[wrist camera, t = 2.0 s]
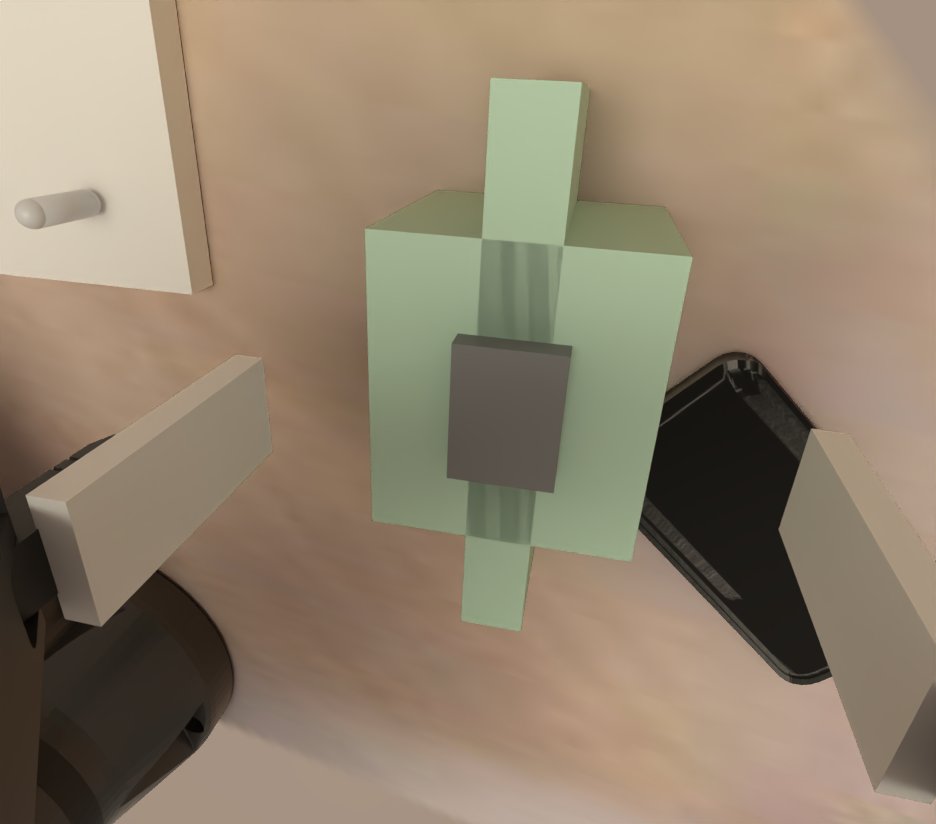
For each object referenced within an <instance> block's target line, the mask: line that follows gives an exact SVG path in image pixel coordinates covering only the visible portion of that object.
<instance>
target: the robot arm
mask: <svg viewBox="0 0 936 824" xmlns="http://www.w3.org/2000/svg"><path fill="white" fill-rule="evenodd" d="M272 452H273V448H272V438H271V429H270V419H269V410H268V400H267V391H266V382H265V372H264V363H263V358H260V357H252V356H244V355H236V354H235V355H234V356H232V357H231V358H229V359H228V360H226V361H225V362H223V363H222V364H220V365H219V366H217V367H216V368H214V369H213V370H211V371H210V372H208V373H207V374H205V375H204V376H202V377H201V378H199V379H198V380H197V381H195V382H194V383H192V384H191V385H189V386H188V387H186V388H185V389H183V390H182V391H180V392H179V393H177V394H176V395H174V396H173V397H171V398H170V399H168V400H167V401H165V402H164V403H162V404H161V405H159V406H158V407H156V408H155V409H153V410H152V411H150V412H149V413H147V414H146V415H144V416H143V417H141V418H140V419H138V420H137V421H135V422H134V423H132V424H131V425H129V426H128V427H126V428H125V429H123V430H122V431H120V432H119V433H117V434H116V435H115V434H114V435H112V436H109V437H106V438H104V439H101V440H99V441H96V442H94V443H91V444H89V445H87V446H86V447H84V448H83V449H81V450H80V451H78V452H77V453H75V454H74V455H72V456H70V459H69V460H67V459H66V460H64V461H63V462H61V463H60V464H58V465H57V466H55V467H54V470H49V471H48V472H46V473H45V474H43V475H41V476H40V477H38V478H37V479H35V480H34V481H32V482H31V483H29V484H28V485H26V486H25V487H23V488H22V489H20V490H19V491H17V492H16V493H14V494H12V495H11V496H9V497H8V498H6V499H5V500H4V498H3V495H2V492H1V489H0V824H113V823H114V822H115V821H116V820H118V819H119V818H120V817H121V816H122V815H123V814H124V813H126V812H127V811H128V810H129V809H130V808H131V807H132V806H134V805H135V804H136V803H137V802H138V801H139V800H141V799H142V798H143V797H144V796H145V795H146V794H147V793H149V792H150V791H151V790H152V789H153V788H154V787H156V786H157V785H158V784H159V783H160V782H161V781H162V780H164V779H165V778H166V777H167V776H168V775H169V774H170V773H171V772H173V771H174V770H175V769H176V768H177V767H179V765H181V764H182V763H183V762H184V761H185V760H186V759H188V758H189V757H190V756H191V755H192V754H193V753H195V752H196V751H197V750H198V749H199V748H200V746H201V745H202V744H203V743H204V742H205V740H206V739H207V738H208V736H209V735H210V733H211V731H212V730H213V728H214V727H215V725H216V724H217V722H218V720H219V719H220V717H221V716H222V714H223V712H224V711H225V709H226V708H227V706H228V703H229V701H230V698H231V694H232V686H233V677H232V669H231V664H230V661H229V657H228V654H227V652H226V649H225V647H224V645H223V643H222V641H221V639H220V637H219V635H218V634H217V632H216V630H215V629H214V627H213V626H212V624H211V623H210V622H209V620H208V619H207V618H206V616H205V615H204V614H203V613H202V611H201V610H200V609H199V608H198V607H197V606H196V605H195V604H194V603H193V602H192V601H191V600H190V599H189V598H188V597H187V596H186V595H185V594H184V593H183V592H182V591H181V590H179V589H178V588H177V587H176V586H175V585H173V584H172V583H171V582H169V581H168V580H167V579H165V578H164V577H162V576H161V575H160V574H158V573H156V572H155V571H156V570H157V569H158V568H159V567H160V566H161V565H162V564H163V563H164V562H165V561H166V560H167V559H168V558H169V557H170V556H171V555H172V554H173V553H174V552H175V551H176V550H177V549H178V548H179V547H180V546H181V545H182V544H183V543H184V542H185V541H186V540H187V539H188V538H189V537H190V536H191V535H192V534H193V533H194V531H195V530H196V529H197V528H198V527H199V526H200V525H201V524H202V523H203V522H204V521H205V520H206V519H207V518H208V517H209V516H210V515H211V514H212V513H213V512H214V511H215V510H216V509H217V508H218V507H219V506H220V505H221V504H222V503H223V502H224V501H225V500H226V499H227V498H228V497H229V496H230V495H231V494H232V493H233V492H234V491H235V490H236V489H237V488H238V487H239V485H240V484H241V483H242V482H243V481H244V480H245V479H246V478H247V477H248V476H249V475H250V474H251V473H252V472H253V471H254V470H255V469H256V468H257V467H258V466H259V465H260V464H261V463H262V462H263V461H264V460H265V459H266V458H267V457H268V456H269V455H270V454H271V453H272ZM779 532H780V535H781V537H782V540H783V543H784V546H785V548H786V551H787V554H788V557H789V559H790V562H791V565H792V567H793V570H794V573H795V576H796V578H797V581H798V584H799V587H800V589H801V592H802V595H803V598H804V600H805V603H806V606H807V608H808V611H809V614H810V617H811V619H812V622H813V625H814V628H815V630H816V633H817V636H818V638H819V641H820V644H821V647H822V649H823V652H824V655H825V658H826V660H827V663H828V666H829V668H830V671H831V674H832V677H833V679H834V682H835V685H836V688H837V690H838V693H839V696H840V699H841V701H842V704H843V707H844V709H845V712H846V715H847V718H848V720H849V723H850V726H851V729H852V731H853V734H854V737H855V739H856V742H857V745H858V748H859V750H860V753H861V756H862V759H863V761H864V764H865V767H866V769H867V772H868V775H869V778H870V780H871V783H872V786H873V789H874V791H875V792H876V793H881V794H886V795H890V796H895V797H900V798H904V799H909V800H914V801H918V802H923V803H928V804H931V803H932V802H933V800H934V798H935V797H936V561H935V560H934V558H933V557H932V556H931V554H930V553H929V551H928V550H927V548H926V547H925V545H924V544H923V542H922V541H921V539H920V538H919V536H918V535H917V533H916V532H915V530H914V529H913V528H912V526H911V525H910V523H909V522H908V520H907V519H906V517H905V516H904V514H903V513H902V511H901V510H900V508H899V507H898V505H897V504H896V502H895V501H894V500H893V498H892V497H891V495H890V494H889V492H888V491H887V489H886V488H885V486H884V485H883V483H882V482H881V480H880V479H879V477H878V476H877V474H876V473H875V472H874V470H873V469H872V467H871V466H870V464H869V463H868V461H867V460H866V458H865V457H864V455H863V454H862V452H861V451H860V449H859V448H858V446H857V445H856V444H855V442H854V441H853V439H852V438H851V436H850V435H849V433H842V432H834V431H827V430H819V429H811V431H810V434H809V437H808V440H807V443H806V446H805V450H804V453H803V456H802V459H801V462H800V465H799V468H798V471H797V474H796V477H795V480H794V483H793V487H792V490H791V493H790V496H789V499H788V502H787V505H786V508H785V511H784V514H783V517H782V520H781V524H780V527H779Z"/></svg>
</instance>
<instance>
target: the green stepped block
mask: <svg viewBox="0 0 936 824" xmlns="http://www.w3.org/2000/svg"><path fill="white" fill-rule="evenodd" d="M589 95H590V88H589V87H588V86H587V85H585V84H584V83H582V82H567V81H546V80H525V79H504V78H491V83H490V101H489V119H488V137H487V156H486V174H485V192H484V193H473V192H459V191H446V190H437V191H435V192H433V193H431V194H429V195H427V196H425V197H424V198H422V199H420V200H418V201H416V202H414V203H412V204H410V205H408V206H407V207H405V208H403V209H401V210H399V211H397V212H395V213H393V214H392V215H390V216H388V217H386V218H384V219H382V220H380V221H378V222H376V223H375V224H373V225H371V226H369V227H367V228H365V254H366V294H367V334H368V375H369V415H370V455H371V495H372V521H375V522H382V523H388V524H394V525H401V526H407V527H413V528H420V529H426V530H432V531H439V532H445V533H451V534H458V535H464V536H466V538H465V556H464V575H463V593H462V611H461V621H463V622H469V623H475V624H480V625H486V626H491V627H497V628H503V629H508V630H514V631H519V632H521V628H522V621H523V615H524V609H525V603H526V597H527V590H528V584H529V578H530V572H531V566H532V560H533V553H534V547H540V548H546V549H553V550H559V551H565V552H572V553H578V554H584V555H591V556H597V557H603V558H610V559H616V560H622V561H629V562H631V561H632V556H633V551H634V546H635V541H636V536H637V531H638V526H639V521H640V517H641V512H642V507H643V502H644V497H645V492H646V487H647V482H648V477H649V472H650V467H651V462H652V457H653V452H654V447H655V442H656V437H657V432H658V427H659V422H660V417H661V412H662V407H663V402H664V397H665V392H666V388H667V383H668V378H669V373H670V368H671V363H672V358H673V353H674V348H675V343H676V338H677V333H678V328H679V323H680V318H681V313H682V308H683V303H684V298H685V293H686V288H687V283H688V278H689V273H690V268H691V263H692V258H693V256H692V255H691V253H690V251H689V249H688V247H687V245H686V244H685V242H684V240H683V238H682V236H681V234H680V233H679V231H678V229H677V227H676V225H675V224H674V222H673V220H672V218H671V216H670V214H669V213H668V211H667V209H666V207H659V206H645V205H632V204H619V203H606V202H592V201H579V200H577V198H578V189H579V181H580V172H581V164H582V155H583V147H584V138H585V130H586V121H587V112H588V104H589Z"/></svg>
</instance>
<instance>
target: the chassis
mask: <svg viewBox="0 0 936 824" xmlns="http://www.w3.org/2000/svg"><path fill="white" fill-rule="evenodd" d="M0 274H5V275H14V276H23V277H33V278H42V279H51V280H61V281H70V282H79V283H89V284H98V285H107V286H117V287H126V288H135V289H145V290H154V291H163V292H173V293H182V294H191V295H192V294H195V293H197V292H199V291H201V290H203V289H205V288H207V287H210V286H212V285H213V281H212V274H211V266H210V258H209V251H208V243H207V236H206V228H205V221H204V213H203V206H202V198H201V190H200V183H199V175H198V168H197V160H196V153H195V145H194V138H193V130H192V123H191V115H190V107H189V100H188V92H187V85H186V77H185V70H184V62H183V55H182V47H181V40H180V32H179V24H178V17H177V9H176V2H175V0H0Z"/></svg>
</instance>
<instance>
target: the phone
mask: <svg viewBox="0 0 936 824" xmlns="http://www.w3.org/2000/svg"><path fill="white" fill-rule="evenodd" d="M811 429H817V428H816V427H815V426H814V425H813V424H812V423H811V421H810V420H809V419H808V418H807V417H806V415H805V414H804V413H803V412H802V411H801V409H800V408H799V407H798V406H797V405H796V404H795V402H794V401H793V400H792V399H791V398H790V396H789V395H788V394H787V393H786V392H785V391H784V389H783V388H782V387H781V386H780V385H779V383H778V382H777V381H776V380H775V379H774V377H773V376H772V375H771V374H770V373H769V372H768V370H767V369H766V368H765V367H764V366H763V364H762V363H761V362H760V361H758V360H757V359H756V358H755V357H754V356H751V355H748V354H746V353H738V352H732V353H728V354H723V355H721V356H719V357H717V358H715V359H714V360H712V361H711V362H709V363H708V364H707V365H705V366H704V367H702V368H701V369H699V370H698V371H697V372H695V373H694V374H692V375H691V376H689V377H688V378H687V379H685V380H684V381H682V382H681V383H680V384H678V385H677V386H675V387H674V388H672V389H671V390H670V391H668V392H667V393H665V397H664V402H663V407H662V412H661V417H660V422H659V427H658V432H657V437H656V442H655V447H654V452H653V457H652V462H651V467H650V472H649V477H648V482H647V487H646V492H645V497H644V502H643V507H642V512H641V517H640V521H639V526H638V529H639V530H640V531H641V532H642V533H643V534H644V535H645V536H646V537H647V538H648V539H649V541H650V542H651V543H652V544H653V545H654V546H655V547H656V548H657V549H658V550H659V551H660V552H661V553H662V554H663V555H664V556H665V557H666V558H667V559H668V560H669V561H670V562H671V563H672V565H673V566H674V567H675V568H676V569H677V570H678V571H679V572H680V573H681V574H682V575H683V576H684V577H685V578H686V579H687V580H688V581H689V582H690V583H691V584H692V585H693V586H694V587H695V588H696V590H697V591H698V592H699V593H700V594H701V595H702V596H703V597H704V598H705V599H706V600H707V601H708V602H709V603H710V604H711V605H712V606H713V607H714V608H715V609H716V610H717V611H718V612H719V614H720V615H721V616H722V617H723V618H724V619H725V620H726V621H727V622H728V623H729V624H730V625H731V626H732V627H733V628H734V629H735V630H736V631H737V632H738V633H739V634H740V635H741V636H742V637H743V639H744V640H745V641H746V642H747V643H748V644H749V645H750V646H751V647H752V648H753V649H754V650H755V651H756V652H757V653H758V654H759V655H760V656H761V657H762V658H763V659H764V660H765V661H766V663H767V664H768V665H769V666H770V667H771V668H772V669H773V670H774V671H775V672H776V673H777V674H778V675H779V676H780V677H781V678H783V679H784V680H785V681H788V682H790V683H793V684H799V685H808V684H814V683H817V682H820V681H823V680H825V679H827V678H830V677H832V674H831V671H830V668H829V666H828V663H827V660H826V658H825V655H824V652H823V649H822V647H821V644H820V641H819V638H818V636H817V633H816V630H815V628H814V625H813V622H812V619H811V617H810V614H809V611H808V608H807V606H806V603H805V600H804V598H803V595H802V592H801V589H800V587H799V584H798V581H797V578H796V576H795V573H794V570H793V567H792V565H791V562H790V559H789V557H788V554H787V551H786V548H785V546H784V543H783V540H782V537H781V535H780V532H779V527H780V524H781V520H782V517H783V514H784V511H785V508H786V505H787V502H788V499H789V496H790V493H791V490H792V487H793V483H794V480H795V477H796V474H797V471H798V468H799V465H800V462H801V459H802V456H803V453H804V450H805V446H806V443H807V440H808V437H809V434H810V431H811Z"/></svg>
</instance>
